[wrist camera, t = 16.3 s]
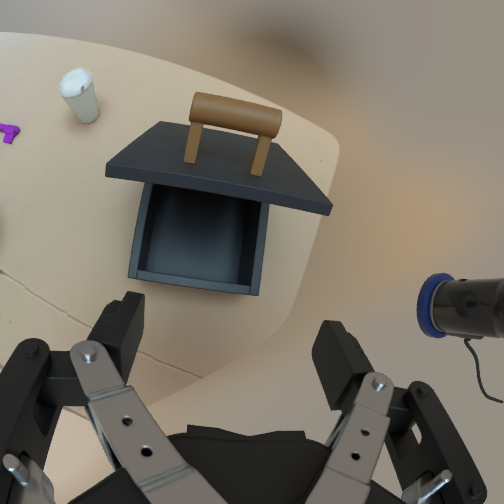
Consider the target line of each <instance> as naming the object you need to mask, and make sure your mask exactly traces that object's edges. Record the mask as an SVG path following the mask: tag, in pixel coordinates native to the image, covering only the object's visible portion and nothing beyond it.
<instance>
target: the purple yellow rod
mask: <svg viewBox="0 0 504 504" xmlns="http://www.w3.org/2000/svg"><path fill="white" fill-rule="evenodd" d="M0 130H1V131H4V133H5V136H4V139H3V142H7V143H12V141H13V138H14V135H16V134H17V133H18V132H19V127H17V126H13V125H4V124H0Z"/></svg>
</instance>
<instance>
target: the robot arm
mask: <svg viewBox="0 0 504 504" xmlns="http://www.w3.org/2000/svg"><path fill="white" fill-rule="evenodd" d="M144 306H145V295H144V294H141V293H136V292H131V291H127V293H126V294H125V296H124V298H123V300H122V301H118V300H114V301H112V302H111V303H109V304H108V305H106V307H105V308H104V310H103V312H102V314H101V315H100V317H99V319H98V320H97V322H96V324H95V325H94V327H93V329H92V331H91V332H90V334H89V336H88V338H87V340H86V341H81V342H79V343H77V344H75V345H74V346H73V347H72V349H71V351H50V349H49V346H48V344H47V343H46V342H45V341H43V340H41V339H37V338H30V339H26V340H24V341H22V342H20V343H19V344H18V346H17V347H16V349H15V350H14V352H13V353H12V355H11V357H10V358H9V360H8V361H7V363H6V365H5V366H4V368H3V370H2V372H1V373H0V504H55V501H54V488H53V485H52V483H51V481H50V479H49V478H48V477H47V476H46V475H45V473H44V472H43V469H44V465H45V461H46V458H47V454H48V450H49V447H50V444H51V441H52V437H53V434H54V431H55V428H56V425H57V422H58V419H59V416H60V413H61V410H62V407H63V406H84V409H85V411H86V413H87V415H88V418H89V420H90V422H91V424H92V426H93V428H94V430H95V432H96V434H97V436H98V438H99V440H100V443H101V444H102V447H103V449H104V451H105V453H106V456H107V457H108V459H109V461H110V463H111V465H112V466H113V468H114V470H115V472H113V473H112V474H110V475H109V476H107V477H106V478H105V479H103V480H102V481H100V482H99V483H97V484H96V485H94V486H93V487H91V488H90V489H88V490H87V491H85V492H84V493H82V494H81V495H79V496H77V497H76V498H75V499H73V500H71V501H70V502H68V504H483V503H484V502H485V500H486V498H487V489H486V486H485V484H484V482H483V479H482V477H481V475H480V473H479V471H478V469H477V467H476V465H475V463H474V461H473V459H472V457H471V456H470V454H469V452H468V450H467V448H466V446H465V445H464V442H463V440H462V439H461V437H460V435H459V433H458V431H457V430H456V428H455V426H454V424H453V422H452V421H451V419H450V417H449V415H448V414H447V412H446V410H445V409H444V407H443V406H442V404H441V402H440V400H439V398H438V397H437V395H436V393H435V392H434V390H433V389H432V388H431V387H430V386H429V385H428V384H426V383H424V382H421V381H414V382H412V383H411V384H410V386H409V387H408V389H404V388H399V387H394V385H393V383H392V381H391V380H390V379H389V378H388V377H387V376H386V375H384V374H381V373H379V372H375V371H374V369H373V367H372V365H371V364H370V362H369V360H368V358H367V356H366V355H365V354H364V351H363V350H362V348H361V346H360V344H359V343H358V341H357V339H356V338H355V337H354V336H352V335H351V334H350V333H349V332H346V330H345V328H344V326H343V325H342V323H341V322H340V321H330V320H324V321H323V323H322V325H321V327H320V330H319V332H318V335H317V337H316V340H315V342H314V345H313V348H312V359H313V362H314V365H315V367H316V370H317V373H318V376H319V379H320V381H321V384H322V387H323V389H324V392H325V395H326V398H327V401H328V404H329V406H330V409H331V410H341V411H342V414H341V415H340V417H339V419H338V420H337V422H336V424H335V427H334V428H333V430H332V432H331V434H330V436H329V437H328V439H327V441H326V443H325V445H323V444H321V443H319V442H316V441H313V440H310V439H306V437H305V432H304V431H275V432H270V433H265V434H259V435H255V436H245V435H241V434H237V433H233V432H230V431H226V430H223V429H219V428H213V427H203V426H194V425H187V432H186V433H178V434H173V435H169V436H166V435H165V434H164V433H163V431H162V430H161V429H160V427H159V426H158V424H157V423H156V421H155V420H154V419H153V417H152V415H151V414H150V412H149V411H148V410H147V408H146V406H145V405H144V403H143V402H142V400H141V399H140V397H139V396H138V394H137V392H136V391H135V389H134V388H133V387H132V386H131V385H129V386H126V384H127V381H128V377H129V374H130V371H131V368H132V365H133V362H134V359H135V356H136V353H137V350H138V347H139V344H140V341H141V338H142V335H143V329H144ZM428 315H429V320H430V323H431V325H432V327H433V328H434V329H435V330H437V331H441V332H442V334H443V335H450V336H457V337H460V338H465V339H464V343H465V345H466V347H467V348H468V349H469V350H470V351H471V353H472V354H473V356H474V358H475V362H476V369H477V378H478V382H479V386H480V389H481V391H482V393H483V394H484V396H485V397H486V398H488V399H490V400H493V401H496V402H499V403H503V401H502V400H499V399H496V398H493V397H490V396H489V395H487V394H486V392H485V390H484V388H483V386H482V382H481V378H480V371H479V362H478V358H477V355H476V353H475V351H474V350H473V349H472V347H471V346H470V345H469V343H468V341H470V340H471V339H482V338H483V337H484V336H486V337H495V338H504V278H497V279H478V280H468V279H460V280H452V281H451V280H443V281H440V282H438V283H437V284H436V285H435V287H434V288H433V290H432V292H431V295H430V299H429V304H428ZM415 423H417V426H418V428H419V430H420V432H421V435H422V439H421V442H420V444H418V442H417V440H416V437H415V435H414V433H413V431H412V429H411V428H412V427H413V426H414V425H415ZM384 442H385V444H386V447H387V449H388V452H389V455H390V457H391V460H392V463H393V466H394V468H395V471H396V474H397V477H398V480H399V483H400V485H401V488H402V491H403V493H402V497H401V499H400V498H398V497H397V496H395V495H394V494H392V493H390V492H389V491H388V490H386V489H384V488H383V487H382V486H380V485H379V484H378V483H376V482H375V481H373V480H372V479H371V478H372V475H373V472H374V469H375V467H376V464H377V461H378V458H379V455H380V452H381V449H382V446H383V443H384Z"/></svg>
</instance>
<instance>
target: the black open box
mask: <svg viewBox="0 0 504 504" xmlns="http://www.w3.org/2000/svg"><path fill="white" fill-rule="evenodd" d="M268 212H269V203H264V202H259V201H254V200H248V199H243V198H238V197H232V196H227V195H221V194H216V193H210V192H204V191H198V190H192V189H186V188H180V187H174V186H167V185H161V184H154V183H147V182H145V184H144V188H143V193H142V198H141V202H140V207H139V212H138V217H137V222H136V228H135V233H134V239H133V245H132V251H131V258H130V264H129V271H128V278H133V279H139V280H145V281H151V282H158V283H164V284H171V285H178V286H185V287H192V288H199V289H206V290H213V291H221V292H229V293H237V294H245V295H253V296H259V288H260V280H261V271H262V263H263V255H264V247H265V238H266V230H267V221H268Z"/></svg>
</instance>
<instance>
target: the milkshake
mask: <svg viewBox="0 0 504 504" xmlns="http://www.w3.org/2000/svg"><path fill="white" fill-rule="evenodd" d="M58 92H59V94H60V95H61V96H62V98H63V99H64V100H65V102H66V103H67V104H68V105H69V106H70V108H71V109H72V111H73V112H74V113H75V115H76V116H77V118H78V119H79V120H80V122H81V123H84V124H89V123H91V122H93V121H95V120H96V118H97V117H98V116H99V106H98V102H97V97H96V93H95V89H94V83H93V76H92V74H91V72H90V71H89V70H88V69H86V68H77V69H73V70H71V71H70V72H68V73H67V74H65V75H64V77H63V78H62V79H61V81H60V83H59V85H58Z"/></svg>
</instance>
